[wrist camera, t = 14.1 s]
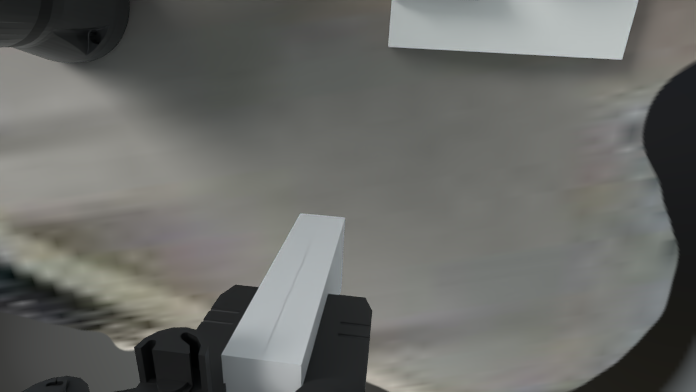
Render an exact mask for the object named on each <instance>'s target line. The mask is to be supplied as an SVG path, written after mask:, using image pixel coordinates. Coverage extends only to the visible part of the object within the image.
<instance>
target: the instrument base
mask: <svg viewBox="0 0 696 392" xmlns="http://www.w3.org/2000/svg"><path fill="white" fill-rule="evenodd" d="M637 4H638V0H392V4H391V17H390V29H389V42H388V47H400V48H418V49H436V50H454V51H472V52H490V53H509V54H527V55H545V56H563V57H581V58H599V59H618V60H622V58H623V54H624V51H625V47H626V44H627V40H628V36H629V33H630V29H631V25H632V22H633V18H634V15H635V11H636V7H637Z"/></svg>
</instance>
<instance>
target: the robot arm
mask: <svg viewBox="0 0 696 392" xmlns="http://www.w3.org/2000/svg"><path fill="white" fill-rule="evenodd" d="M128 15H129V0H0V47H13V48H16V49H19V50H22V51H25V52H28V53H31V54H33V55H36V56H39V57H42V58H45V59H48V60H52V61H57V62H64V63H72V62H86V61H92V60H95V59H98V58H100V57H102V56H104V55H106V54H107V53H108V52H110V51H111V50H112V49H113V48H114V47H115V46H116V45H117V43H118V42H119V40H120V39H121V37H122V35H123V33H124V31H125V28H126V25H127V21H128ZM344 229H345V217H335V216H324V215H313V214H302V213H300V215H299V217H298V218H297V220H296V222H295V224H294V226H293V227H292V229H291V231H290V233H289V235H288V236H287V238H286V240H285V242H284V243H283V245H282V247H281V249H280V251H279V252H278V254H277V256H276V258H275V260H274V261H273V263H272V265H271V267H270V269H269V270H268V272H267V274H266V276H265V277H264V279H263V281H262V283H261V285H260V286H259V287H251V286H242V285H234V286H233V287H231V288H230V289H229V290H227V291H226V292H224V293H223V294H221V295H220V296H219V298H218V299H217V301H216V302H215V303H214V305H213V306H212V308H211V311H209V312H208V314H207V315H206V316H205V318H204V321H203V322H201V324H200V325H199V327H198V328H197V329H196V330H194V329H191V328H187V327H180V328H169V329H165V330H161V331H158V332H156V333H154V334H152V335H150V336H148V337H146V338H144V339H143V340H142V341H141V342H140V343H139V344H137V345H136V346H135V347H134V348H135V354H136V360H137V365H138V371H139V377H140V383H139V385H138V386H137V387H136V388H133V389H128V390H124V391H117V392H365V384H366V374H367V364H368V353H369V341H370V330H371V318H372V310H371V308H370V306H369V304H368V302H367V300H366V298H363V297H354V296H345V295H340V292H341V287H342V267H343V248H344ZM23 392H90V391H89V387H88V384H87V383H86V382H84V381H83V380H82V379H81V378H77V377H70V376H64V377H56V378H51V379H48V380H45V381H43V382H40V383H37V384H35V385H33V386H31V387H29V388H28V389H26V390H24V391H23Z"/></svg>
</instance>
